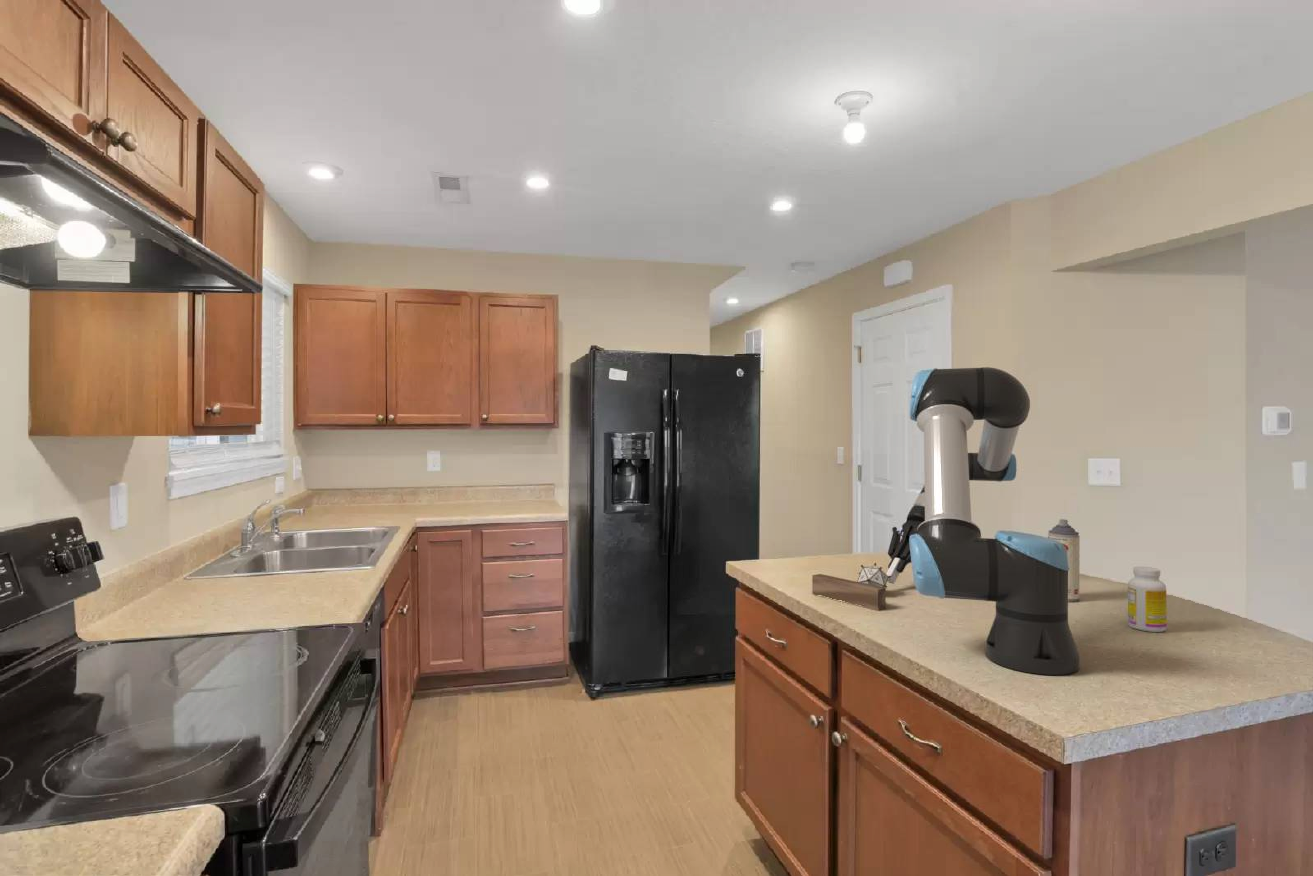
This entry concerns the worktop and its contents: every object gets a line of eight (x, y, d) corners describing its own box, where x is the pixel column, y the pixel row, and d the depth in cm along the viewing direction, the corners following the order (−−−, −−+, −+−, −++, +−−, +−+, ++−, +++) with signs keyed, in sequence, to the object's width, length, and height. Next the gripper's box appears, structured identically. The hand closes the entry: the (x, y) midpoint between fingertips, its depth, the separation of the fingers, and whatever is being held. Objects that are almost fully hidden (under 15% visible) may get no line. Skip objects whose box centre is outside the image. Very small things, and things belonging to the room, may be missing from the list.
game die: (880, 610, 172) (899, 584, 166) (849, 598, 172) (866, 572, 167) (878, 587, 179) (895, 561, 174) (848, 575, 180) (865, 549, 174)
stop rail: (877, 610, 158) (877, 589, 158) (812, 594, 174) (812, 575, 174) (885, 608, 160) (885, 587, 160) (820, 592, 176) (820, 573, 176)
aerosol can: (1041, 597, 170) (1041, 518, 170) (1060, 594, 173) (1060, 517, 173) (1066, 603, 164) (1067, 522, 164) (1085, 600, 167) (1085, 520, 166)
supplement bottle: (1172, 630, 142) (1172, 569, 142) (1157, 635, 138) (1157, 573, 138) (1136, 622, 148) (1136, 564, 148) (1121, 627, 144) (1121, 567, 144)
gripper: (952, 524, 183) (917, 593, 173) (910, 519, 194) (874, 584, 184) (941, 506, 180) (905, 575, 170) (899, 502, 190) (862, 567, 181)
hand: (889, 580), depth 177 cm, fingers closed
